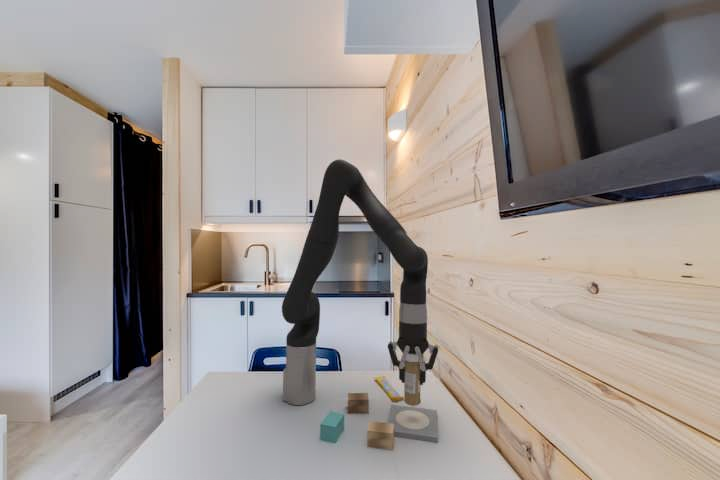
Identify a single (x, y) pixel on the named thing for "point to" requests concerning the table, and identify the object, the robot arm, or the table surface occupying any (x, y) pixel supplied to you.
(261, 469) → the table surface
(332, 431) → the teal block
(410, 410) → the slate board
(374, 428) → the oak block
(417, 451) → the table surface
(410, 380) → the sprinkles bottle
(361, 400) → the walnut block
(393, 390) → the candy bar
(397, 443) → the table surface
